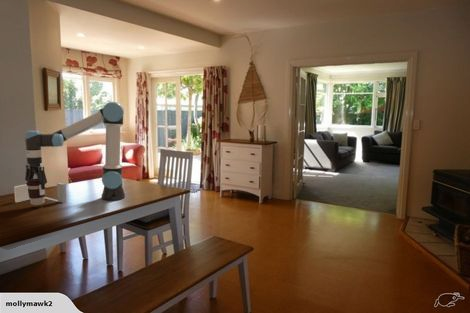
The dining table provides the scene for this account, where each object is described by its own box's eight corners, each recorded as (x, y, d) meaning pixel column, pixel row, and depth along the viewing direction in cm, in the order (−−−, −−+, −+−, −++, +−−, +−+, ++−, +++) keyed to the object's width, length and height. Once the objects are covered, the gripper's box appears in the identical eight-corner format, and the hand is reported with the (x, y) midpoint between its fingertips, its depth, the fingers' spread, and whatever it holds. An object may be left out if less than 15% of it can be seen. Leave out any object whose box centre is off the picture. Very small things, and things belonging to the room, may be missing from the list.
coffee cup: (24, 204, 194) (22, 180, 192) (39, 200, 203) (37, 176, 201) (36, 206, 190) (34, 181, 188) (50, 202, 200) (49, 178, 197)
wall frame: (37, 195, 222) (36, 177, 221) (66, 202, 209) (65, 183, 207) (33, 195, 220) (32, 178, 218) (63, 203, 207) (62, 184, 205)
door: (40, 195, 220) (39, 180, 219) (43, 196, 219) (42, 181, 217) (13, 201, 205) (12, 185, 203) (16, 202, 203) (15, 186, 202)
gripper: (16, 156, 194) (19, 192, 197) (39, 159, 184) (42, 197, 188) (28, 154, 201) (31, 189, 204) (52, 157, 191) (54, 194, 194)
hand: (36, 193), depth 196 cm, fingers closed on coffee cup, 10 cm apart
